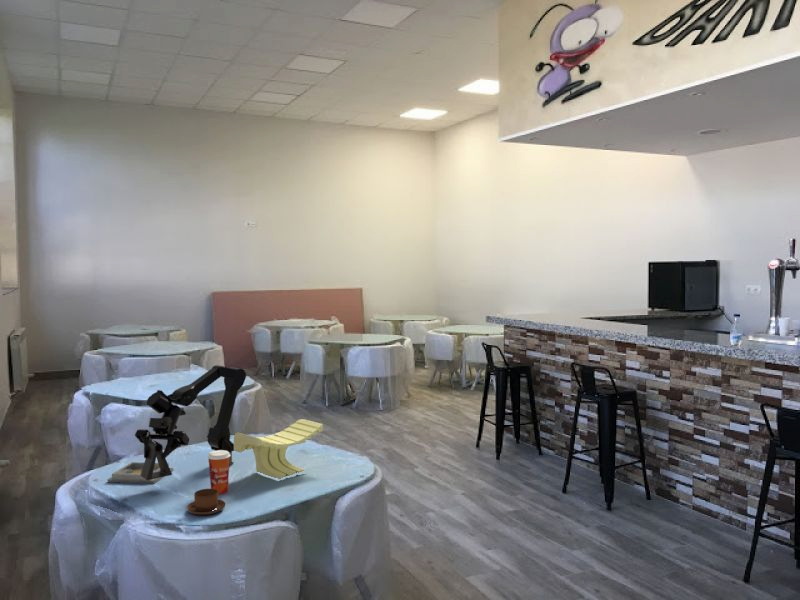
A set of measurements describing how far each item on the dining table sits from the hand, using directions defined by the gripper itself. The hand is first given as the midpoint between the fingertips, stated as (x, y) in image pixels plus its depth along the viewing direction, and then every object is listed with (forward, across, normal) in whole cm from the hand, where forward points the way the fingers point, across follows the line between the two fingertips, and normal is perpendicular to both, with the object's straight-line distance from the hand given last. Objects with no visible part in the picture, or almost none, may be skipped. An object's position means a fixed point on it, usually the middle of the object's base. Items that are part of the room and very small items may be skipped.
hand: (153, 458), depth 236 cm
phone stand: (+4, 0, +6) cm, 7 cm away
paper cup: (+6, +23, +11) cm, 26 cm away
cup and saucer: (+18, +27, -1) cm, 32 cm away
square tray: (-2, -14, +19) cm, 24 cm away
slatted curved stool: (-11, +36, +29) cm, 47 cm away
